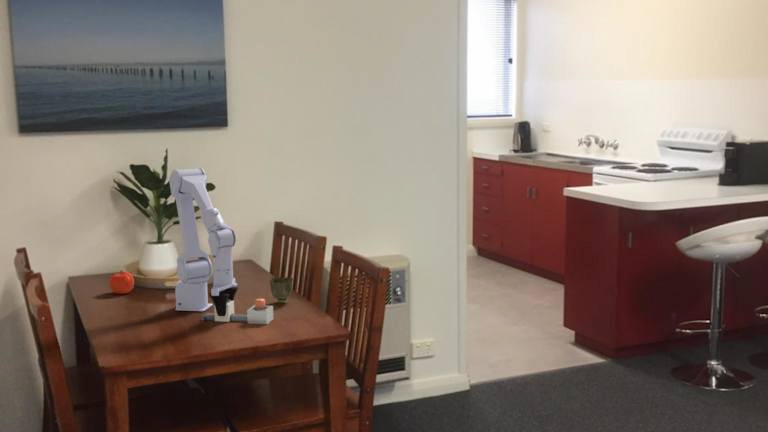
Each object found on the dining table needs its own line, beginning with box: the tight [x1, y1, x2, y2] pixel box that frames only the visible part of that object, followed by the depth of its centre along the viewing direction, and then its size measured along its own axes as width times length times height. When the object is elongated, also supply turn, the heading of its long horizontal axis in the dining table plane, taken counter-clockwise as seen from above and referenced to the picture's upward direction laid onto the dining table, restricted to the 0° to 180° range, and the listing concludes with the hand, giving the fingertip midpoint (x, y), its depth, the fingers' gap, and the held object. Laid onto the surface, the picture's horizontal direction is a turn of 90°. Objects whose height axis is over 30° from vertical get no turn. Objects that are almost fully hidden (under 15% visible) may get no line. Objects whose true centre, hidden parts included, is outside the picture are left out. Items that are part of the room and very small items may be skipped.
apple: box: [108, 270, 135, 295], centre depth 273 cm, size 8×8×8 cm
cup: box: [269, 276, 294, 305], centre depth 258 cm, size 8×7×8 cm
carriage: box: [213, 299, 235, 323], centre depth 240 cm, size 4×5×6 cm
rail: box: [200, 312, 248, 323], centre depth 240 cm, size 14×4×2 cm, turn 80°
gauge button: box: [254, 298, 266, 308], centre depth 238 cm, size 3×3×2 cm
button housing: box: [246, 304, 274, 325], centre depth 238 cm, size 6×6×4 cm
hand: (224, 313), depth 240 cm, fingers closed on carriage, 5 cm apart
